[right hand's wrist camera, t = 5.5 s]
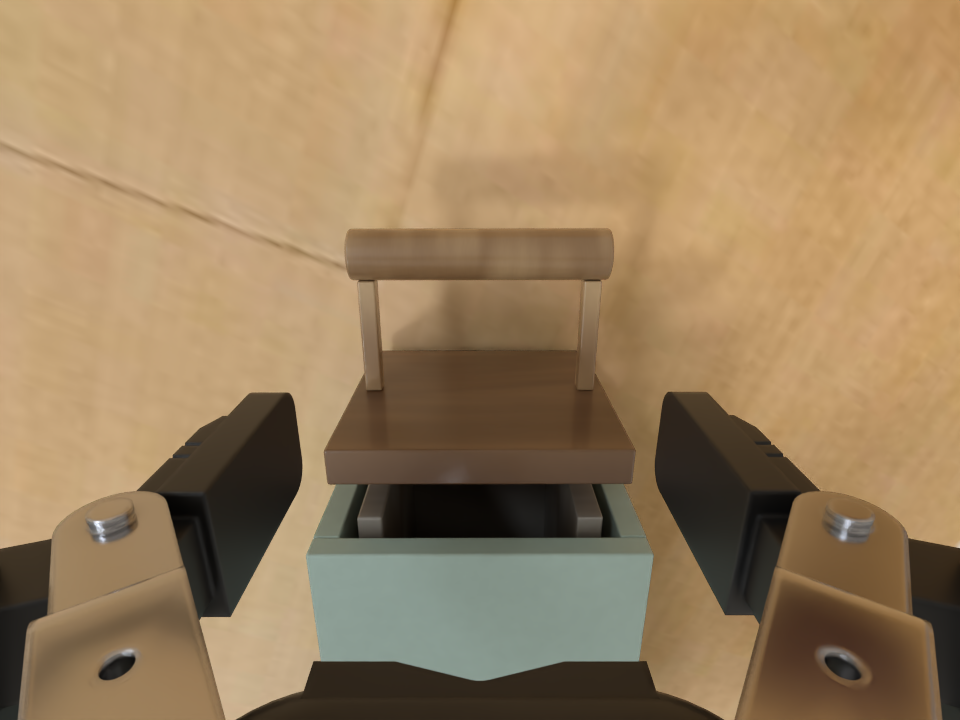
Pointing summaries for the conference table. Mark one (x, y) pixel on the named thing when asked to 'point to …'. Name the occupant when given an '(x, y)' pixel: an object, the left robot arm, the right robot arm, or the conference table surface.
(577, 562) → the cabinet
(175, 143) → the conference table surface
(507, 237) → the drawer
